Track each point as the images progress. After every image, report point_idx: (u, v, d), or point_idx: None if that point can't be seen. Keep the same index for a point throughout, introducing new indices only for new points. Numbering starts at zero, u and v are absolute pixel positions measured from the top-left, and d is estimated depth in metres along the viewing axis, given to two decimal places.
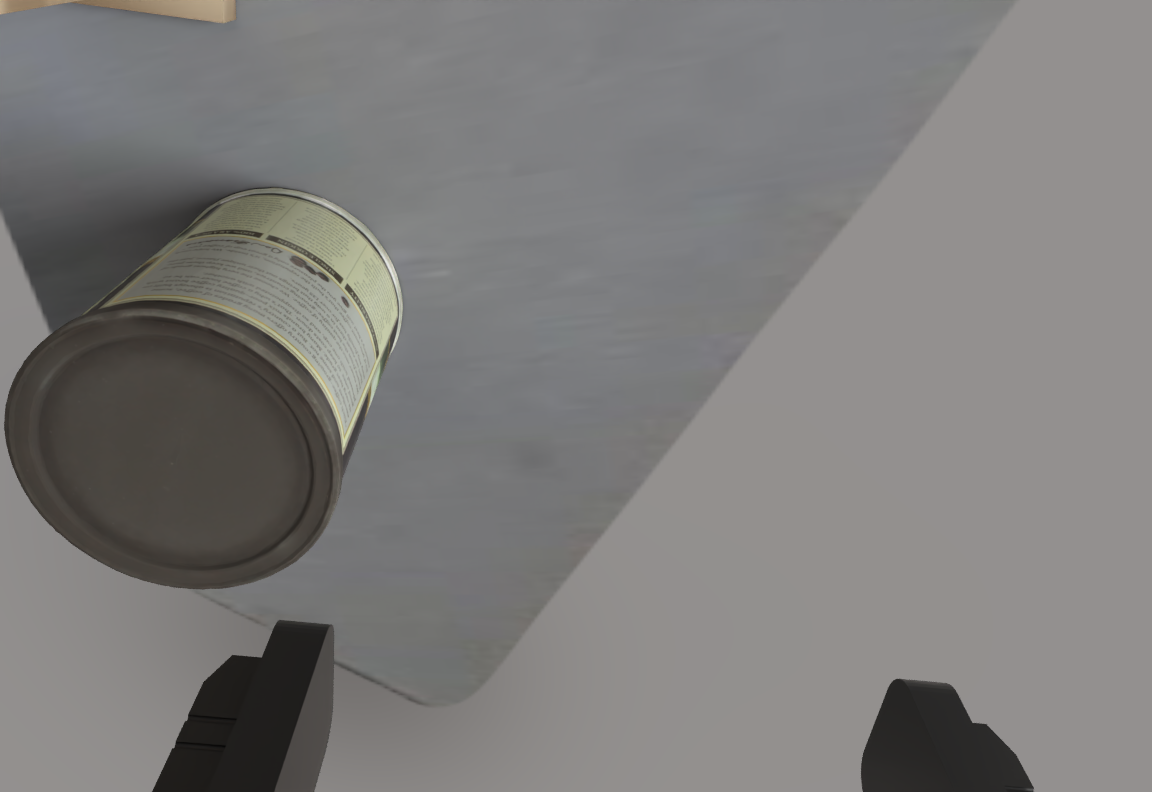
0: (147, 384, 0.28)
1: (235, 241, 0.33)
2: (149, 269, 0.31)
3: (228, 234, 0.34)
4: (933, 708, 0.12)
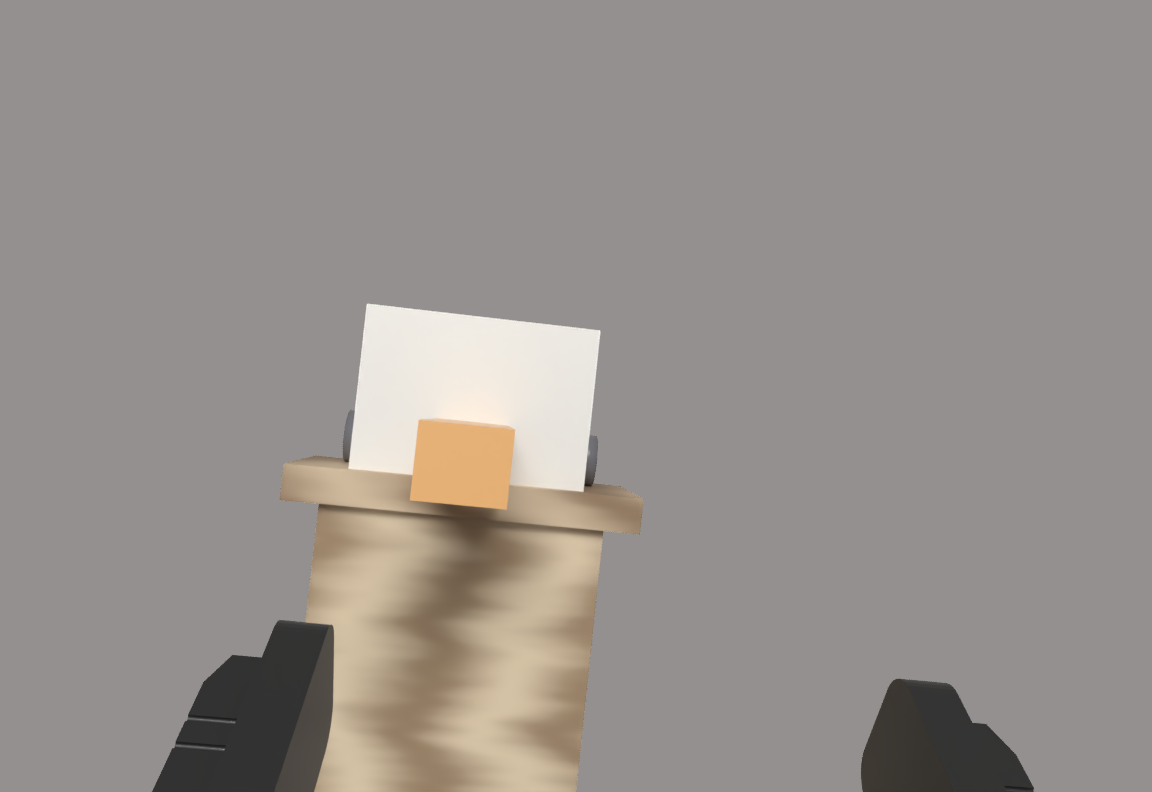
0: None
1: None
2: None
3: None
4: (933, 708, 0.12)
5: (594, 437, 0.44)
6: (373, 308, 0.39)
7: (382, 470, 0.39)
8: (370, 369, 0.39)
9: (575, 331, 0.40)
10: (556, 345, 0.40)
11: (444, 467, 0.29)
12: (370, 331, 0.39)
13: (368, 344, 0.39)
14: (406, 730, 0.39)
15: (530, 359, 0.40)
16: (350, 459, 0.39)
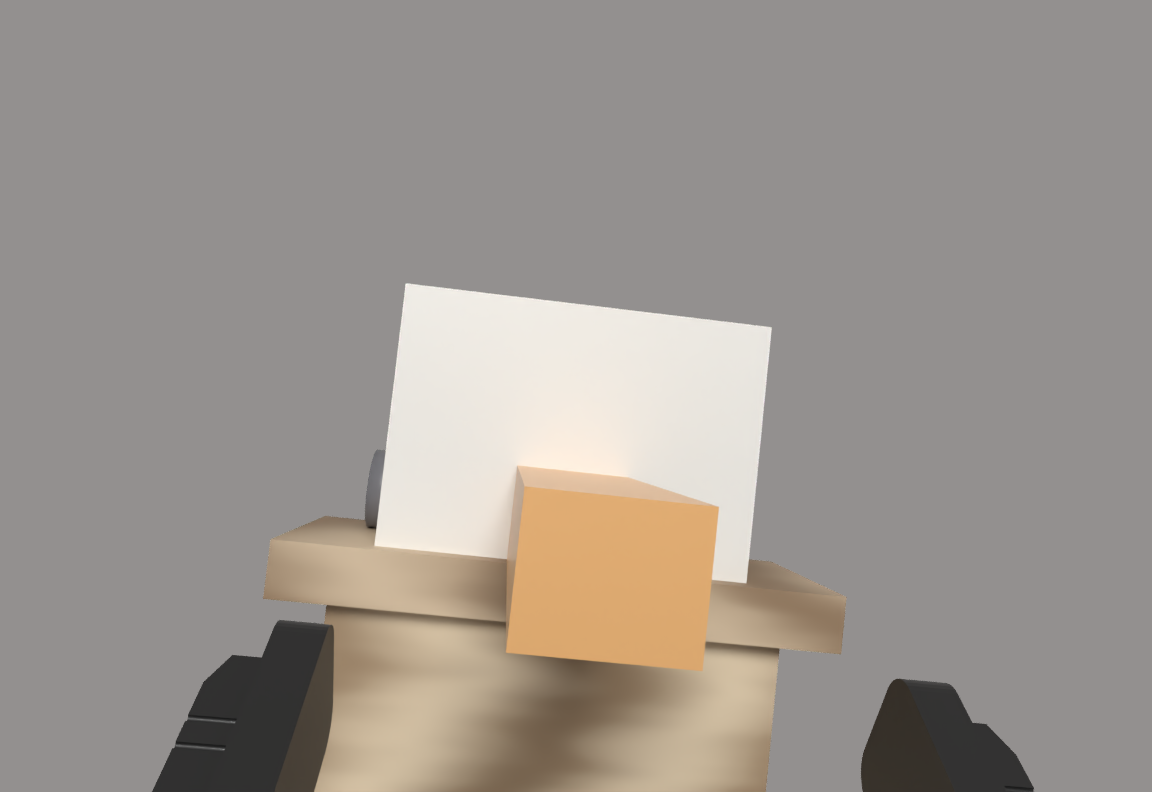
0: None
1: None
2: None
3: None
4: (933, 708, 0.12)
5: None
6: (416, 291, 0.25)
7: (428, 549, 0.24)
8: (410, 387, 0.25)
9: (732, 328, 0.25)
10: (703, 350, 0.25)
11: (576, 584, 0.14)
12: (411, 327, 0.25)
13: (407, 347, 0.25)
14: None
15: (662, 373, 0.25)
16: (377, 531, 0.24)
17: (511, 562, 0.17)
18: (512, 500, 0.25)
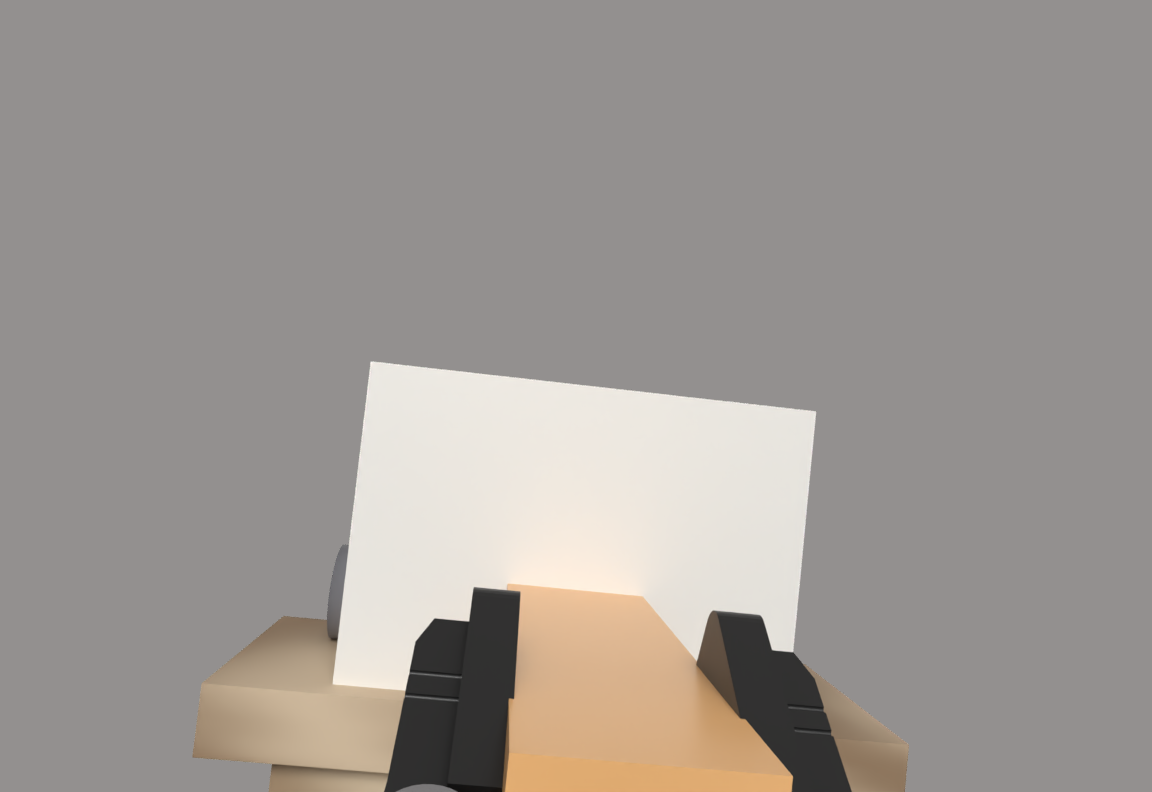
0: None
1: None
2: None
3: None
4: (737, 635, 0.13)
5: None
6: (383, 370, 0.20)
7: (399, 687, 0.20)
8: (376, 489, 0.20)
9: (769, 413, 0.21)
10: (733, 440, 0.21)
11: None
12: (377, 415, 0.20)
13: (373, 440, 0.20)
14: None
15: (684, 468, 0.21)
16: (336, 666, 0.20)
17: None
18: None
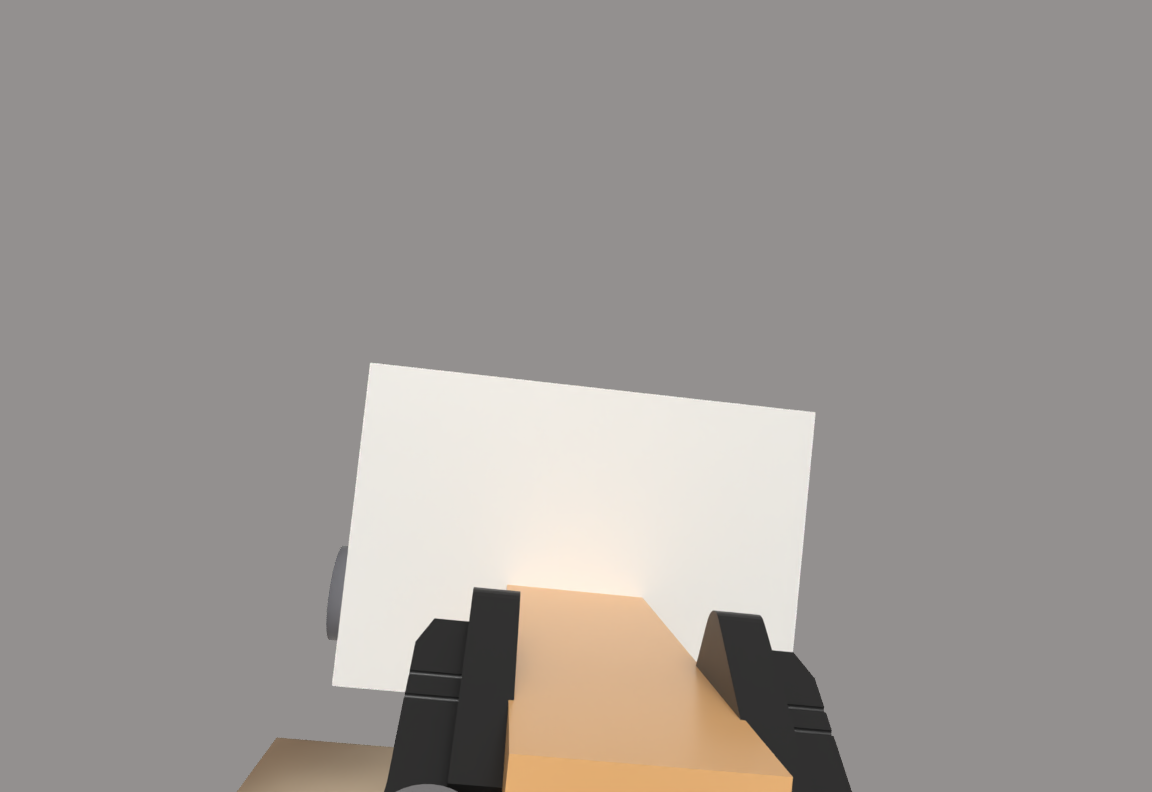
0: None
1: None
2: None
3: None
4: (737, 635, 0.13)
5: None
6: (382, 372, 0.20)
7: (398, 689, 0.20)
8: (376, 490, 0.20)
9: (768, 414, 0.21)
10: (732, 441, 0.21)
11: None
12: (376, 416, 0.20)
13: (372, 441, 0.20)
14: None
15: (683, 469, 0.21)
16: (336, 668, 0.20)
17: None
18: None
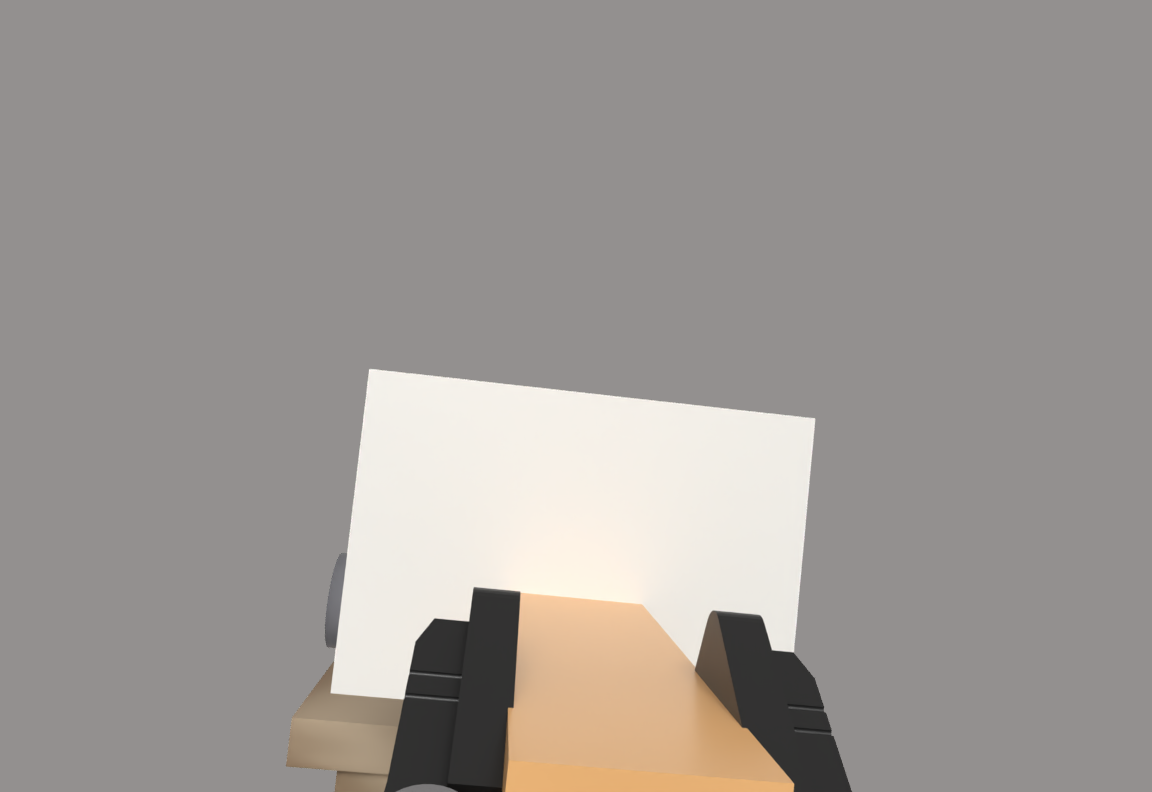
0: None
1: None
2: None
3: None
4: (737, 635, 0.13)
5: None
6: (382, 378, 0.20)
7: (397, 696, 0.20)
8: (375, 496, 0.20)
9: (768, 420, 0.21)
10: (732, 447, 0.21)
11: None
12: (375, 422, 0.20)
13: (371, 448, 0.20)
14: None
15: (683, 475, 0.21)
16: (334, 675, 0.20)
17: None
18: None
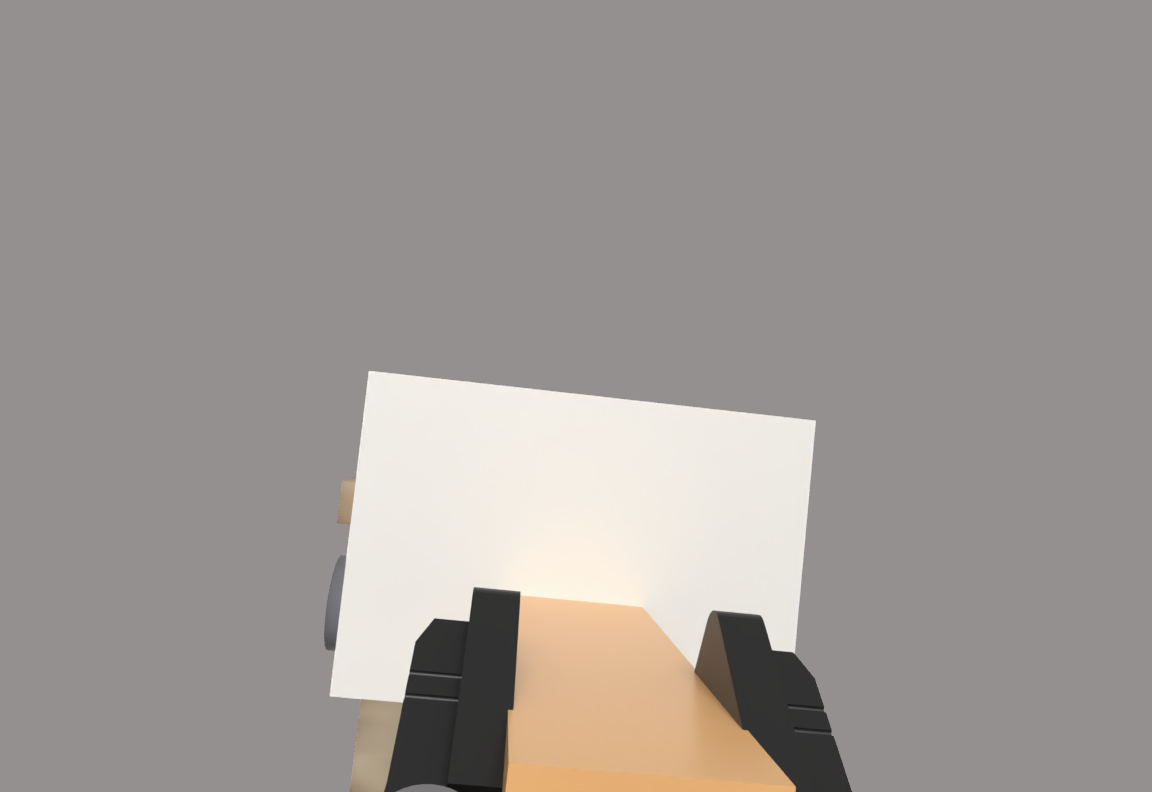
0: None
1: None
2: None
3: None
4: (737, 635, 0.13)
5: None
6: (381, 380, 0.20)
7: (396, 699, 0.20)
8: (374, 499, 0.20)
9: (768, 422, 0.21)
10: (733, 449, 0.21)
11: None
12: (375, 425, 0.20)
13: (371, 450, 0.20)
14: None
15: (683, 478, 0.21)
16: (334, 678, 0.20)
17: None
18: None
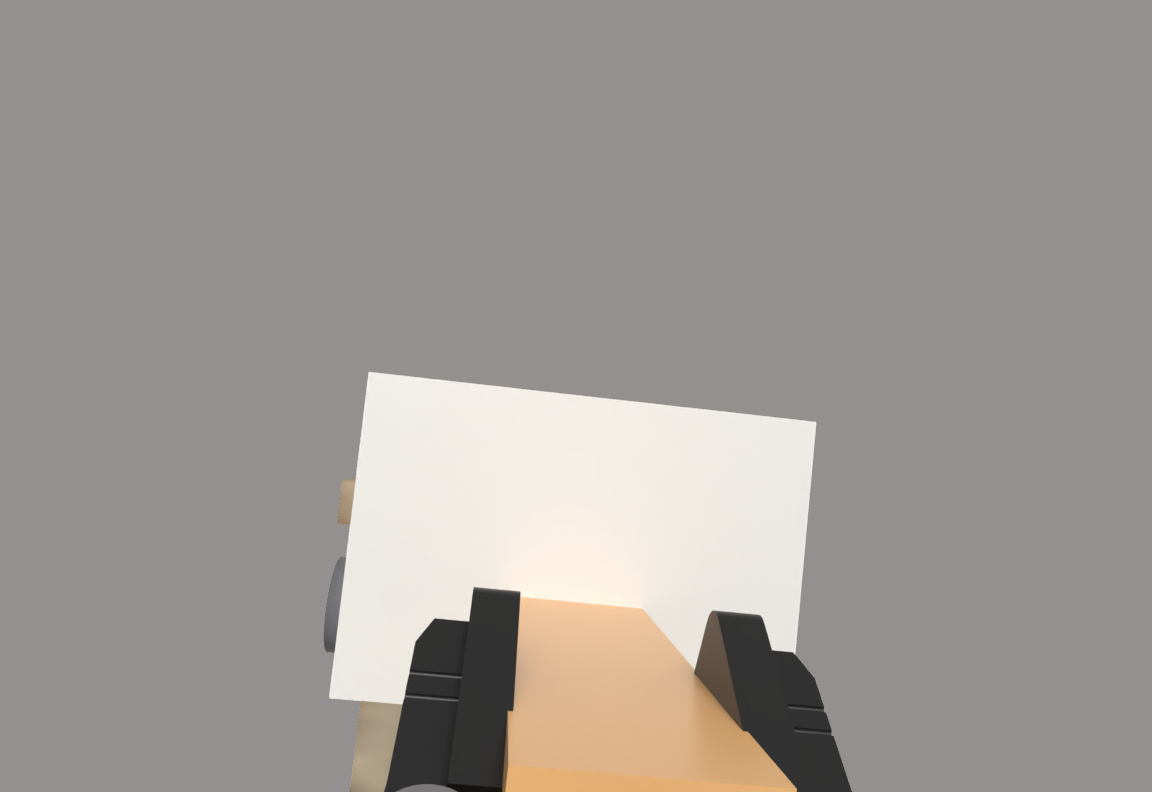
0: None
1: None
2: None
3: None
4: (736, 635, 0.13)
5: None
6: (381, 381, 0.20)
7: (396, 701, 0.20)
8: (374, 500, 0.20)
9: (769, 424, 0.21)
10: (733, 450, 0.21)
11: None
12: (375, 426, 0.20)
13: (370, 451, 0.20)
14: None
15: (683, 479, 0.21)
16: (333, 680, 0.20)
17: None
18: None
